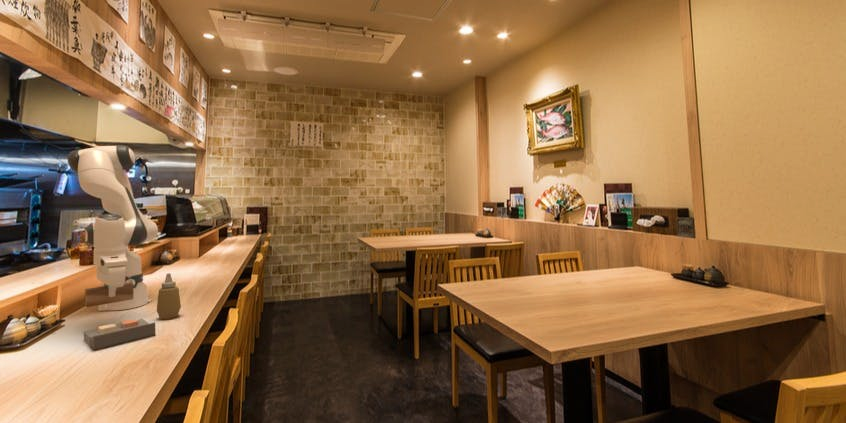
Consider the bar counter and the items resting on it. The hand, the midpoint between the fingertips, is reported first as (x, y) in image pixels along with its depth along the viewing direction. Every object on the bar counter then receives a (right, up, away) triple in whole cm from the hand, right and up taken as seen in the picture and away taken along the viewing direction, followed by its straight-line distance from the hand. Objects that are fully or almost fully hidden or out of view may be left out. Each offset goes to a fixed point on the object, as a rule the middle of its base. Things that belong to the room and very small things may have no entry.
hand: (109, 295), depth 129 cm
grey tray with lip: (+11, -13, -8) cm, 19 cm away
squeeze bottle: (+12, -12, +13) cm, 22 cm away
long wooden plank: (0, -3, 0) cm, 3 cm away
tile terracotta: (+12, -10, -5) cm, 16 cm away
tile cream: (+8, -10, -10) cm, 16 cm away
